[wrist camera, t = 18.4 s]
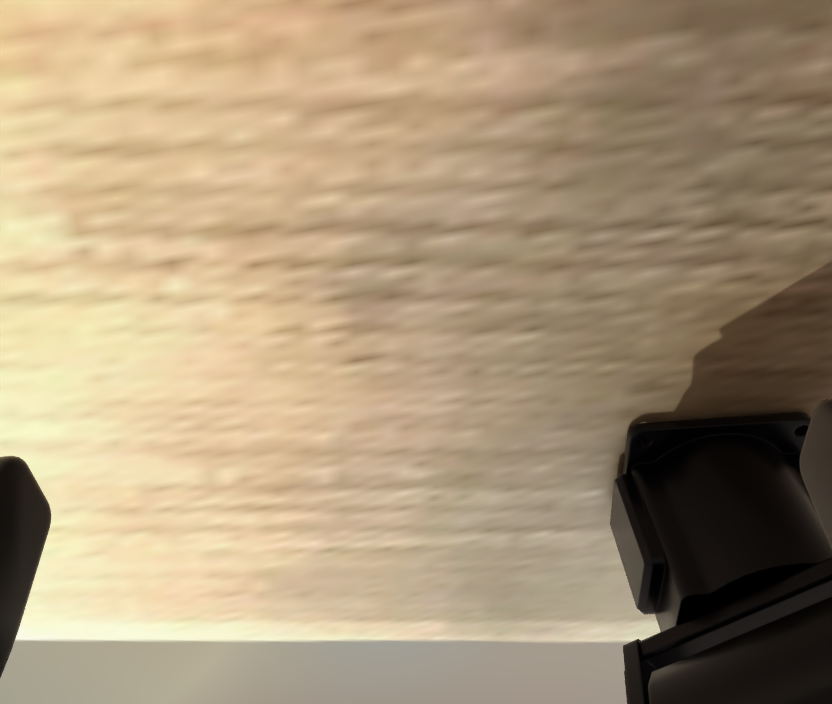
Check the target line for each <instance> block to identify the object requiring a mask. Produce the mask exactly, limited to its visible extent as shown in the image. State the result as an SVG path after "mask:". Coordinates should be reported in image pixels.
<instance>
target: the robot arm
mask: <svg viewBox="0 0 832 704" xmlns="http://www.w3.org/2000/svg"><path fill="white" fill-rule="evenodd" d="M799 426H801V427H800V428H798V427H799ZM796 428H797V429H796ZM642 436H647V437H645V438H644V439H639V438H640V437H642ZM50 523H51V510H50V506H49V504H48V501H47V500H46V498H45V496H44V494H43V492H42V490H41V489H40V487H39V485H38V483H37V481H36V480H35V478H34V476H33V474H32V472H31V471H30V469H29V467H28V465H27V464H26V462H25V461H23V460H22V459H21V458H19V457H15V456H5V457H0V677H1V675H2V672H3V670H4V667H5V665H6V662H7V660H8V657H9V655H10V652H11V650H12V647H13V644H14V641H15V638H16V635H17V632H18V629H19V626H20V623H21V620H22V616H23V613H24V610H25V606H26V603H27V600H28V597H29V593H30V590H31V587H32V584H33V580H34V577H35V574H36V571H37V567H38V564H39V561H40V557H41V554H42V551H43V548H44V544H45V541H46V538H47V535H48V531H49V528H50ZM610 525H611V529H612V532H613V535H614V538H615V541H616V544H617V547H618V551H619V554H620V557H621V560H622V563H623V566H624V569H625V572H626V576H627V579H628V582H629V585H630V588H631V591H632V594H633V598H634V601H635V604H636V607H637V609H639V610H640V611H641V612H642V613H643V614H655V616H656V619H657V621H658V624H659V627H660V630H661V632H660V633H658V634H656V635H654V636H651V637H649V638H647V639H645V640H642V641H640V640H639V639H637V640H635V641H633V642H630V643H628V644H626V645H624V646H623V652H624V663H625V672H624V674H625V685H626V695H627V704H832V399H828V400H824V401H822V402H820V403H819V404H818V405H817V406H816V407H815V409H814V411H813V414H812V418H811V417H810V416H809V415H808V414H806V413H787V414H773V415H758V416H743V417H728V418H714V419H699V420H684V421H670V422H655V423H642V424H637V425H635V426H633V427H632V428H631V429H630V430H629V431H628V434H627V439H626V448H625V457H624V466H623V474H619V475H618V476H617V478H616V479H615V481H614V490H613V500H612V509H611V519H610Z"/></svg>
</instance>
